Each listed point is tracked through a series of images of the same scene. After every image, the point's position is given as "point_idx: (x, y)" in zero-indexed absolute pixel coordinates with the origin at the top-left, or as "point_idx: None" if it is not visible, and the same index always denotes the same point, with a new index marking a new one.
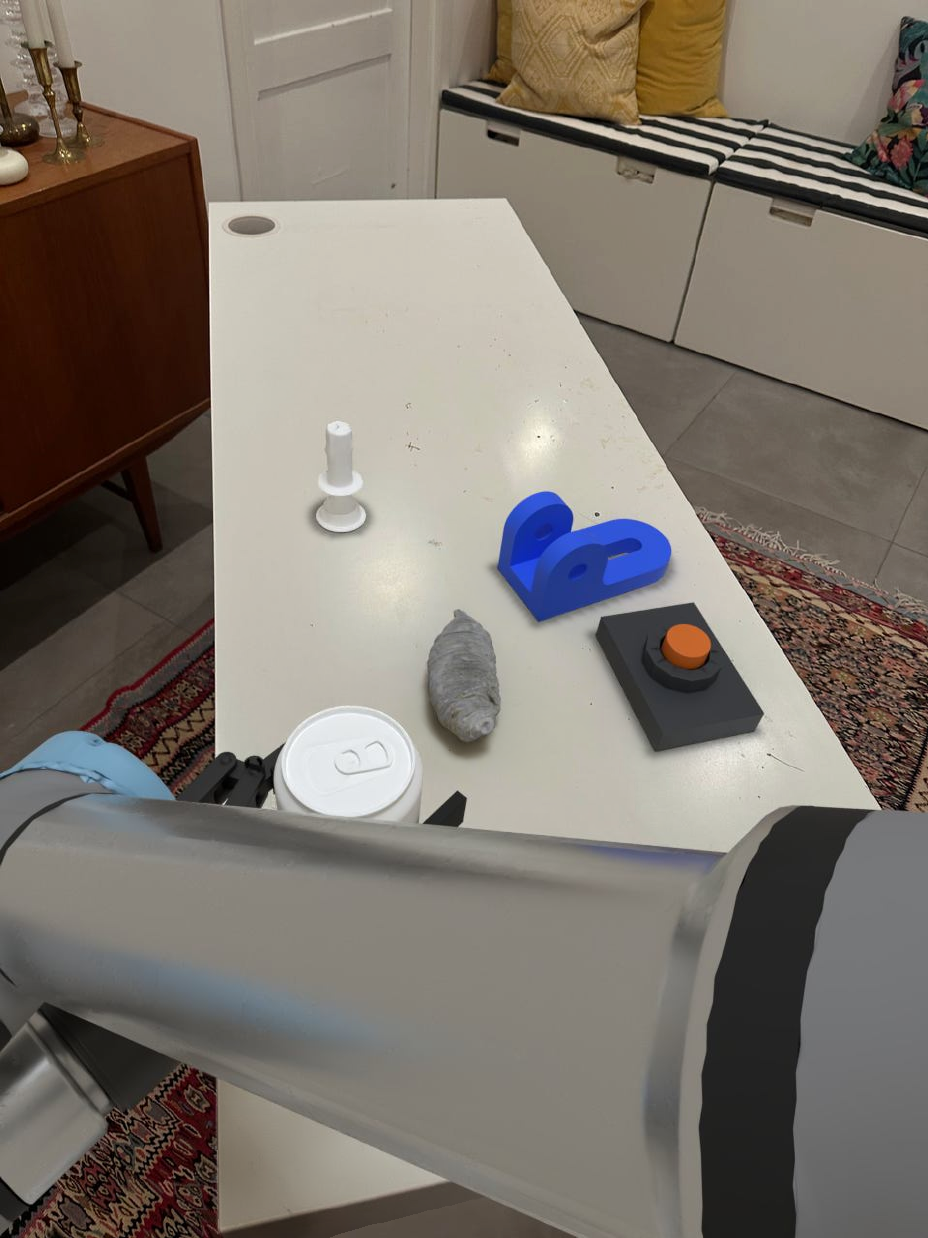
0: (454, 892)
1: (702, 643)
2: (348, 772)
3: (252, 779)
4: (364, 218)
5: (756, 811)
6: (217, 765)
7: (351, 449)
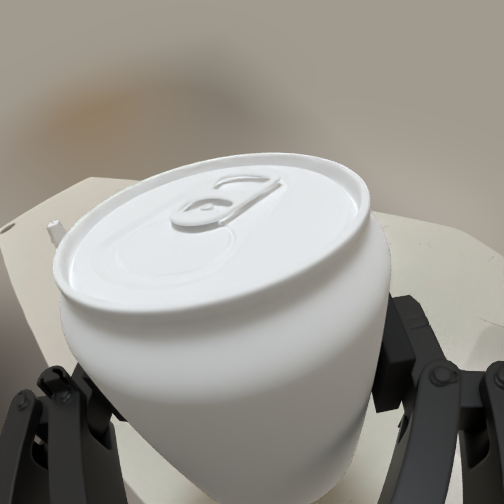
0: None
1: None
2: (223, 215)
3: (66, 407)
4: (45, 204)
5: (396, 248)
6: (15, 415)
7: (64, 232)
